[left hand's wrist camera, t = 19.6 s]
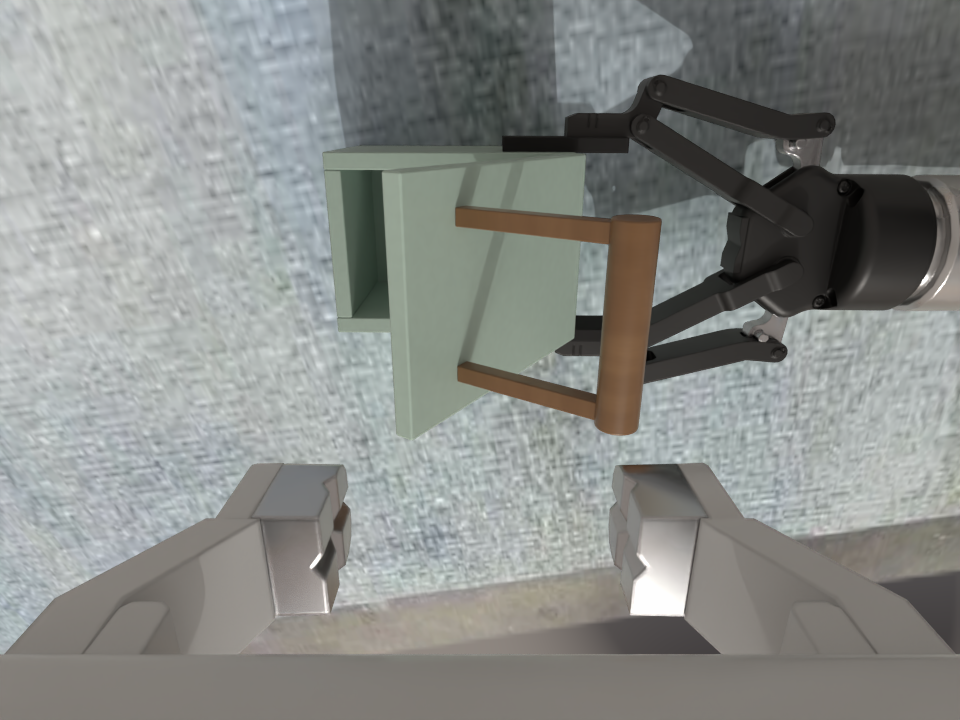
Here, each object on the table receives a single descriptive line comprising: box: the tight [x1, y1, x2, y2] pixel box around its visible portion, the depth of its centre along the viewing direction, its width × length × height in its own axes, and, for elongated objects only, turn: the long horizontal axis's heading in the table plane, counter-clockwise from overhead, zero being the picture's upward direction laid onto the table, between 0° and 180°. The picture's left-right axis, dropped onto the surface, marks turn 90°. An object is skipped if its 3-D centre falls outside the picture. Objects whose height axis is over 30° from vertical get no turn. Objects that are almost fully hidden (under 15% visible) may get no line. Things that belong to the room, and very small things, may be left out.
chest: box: [322, 145, 575, 332], centre depth 36 cm, size 13×10×9 cm
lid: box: [382, 153, 662, 440], centre depth 24 cm, size 14×10×8 cm
